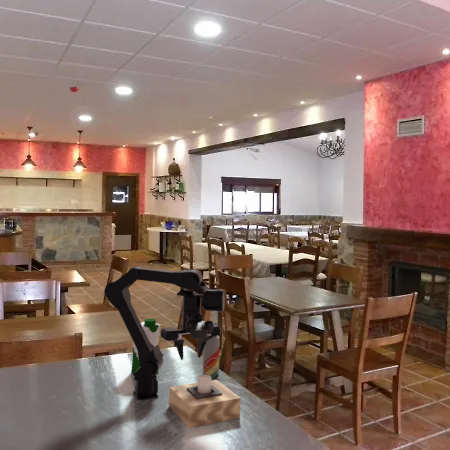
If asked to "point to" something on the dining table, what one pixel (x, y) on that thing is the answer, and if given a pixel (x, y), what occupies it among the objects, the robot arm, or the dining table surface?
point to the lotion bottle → (211, 357)
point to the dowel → (204, 384)
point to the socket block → (204, 404)
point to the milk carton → (152, 334)
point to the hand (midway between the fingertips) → (190, 358)
